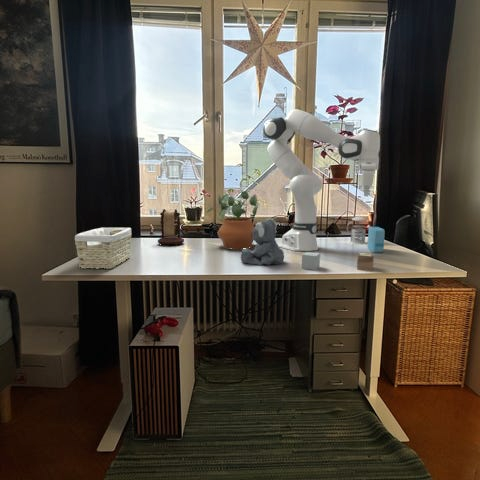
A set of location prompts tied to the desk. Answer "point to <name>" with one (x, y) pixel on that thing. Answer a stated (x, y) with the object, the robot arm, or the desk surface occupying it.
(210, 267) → the desk surface
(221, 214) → the potted plant
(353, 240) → the french press
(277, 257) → the koala plush
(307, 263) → the grey cube
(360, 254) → the walnut cube
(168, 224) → the scroll
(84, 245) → the storage basket
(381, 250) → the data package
